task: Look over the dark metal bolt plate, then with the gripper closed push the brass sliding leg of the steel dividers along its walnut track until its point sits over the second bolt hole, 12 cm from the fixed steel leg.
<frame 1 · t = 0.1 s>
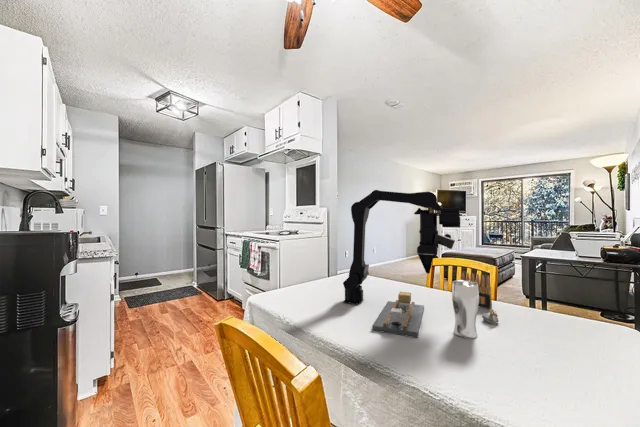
hand: (428, 270, 101), 15 cm above the table, tool pointing down, fingers open, 9 cm apart
bolt plate: (400, 319, 94), on the table
figurine: (490, 323, 91), on the table
beer glass: (465, 334, 82), on the table
ammunition clip: (475, 305, 108), on the table
sliding leg: (404, 297, 104), point 4 cm above the table, slide at 0.0 cm
fixed leg: (396, 328, 87), resting on bolt plate
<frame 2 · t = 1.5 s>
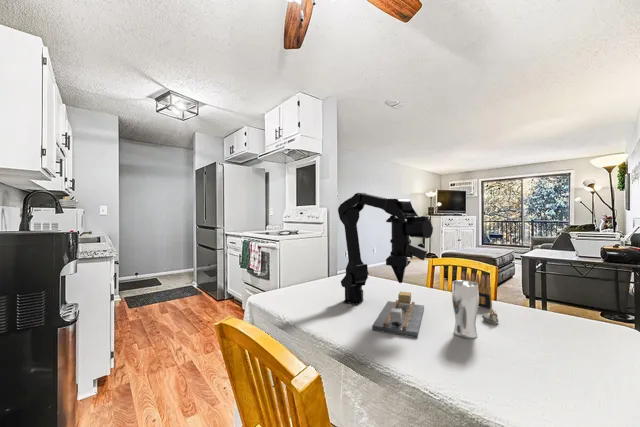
hand: (400, 282, 95), 12 cm above the table, tool pointing down, fingers closed
nothing on the table moved.
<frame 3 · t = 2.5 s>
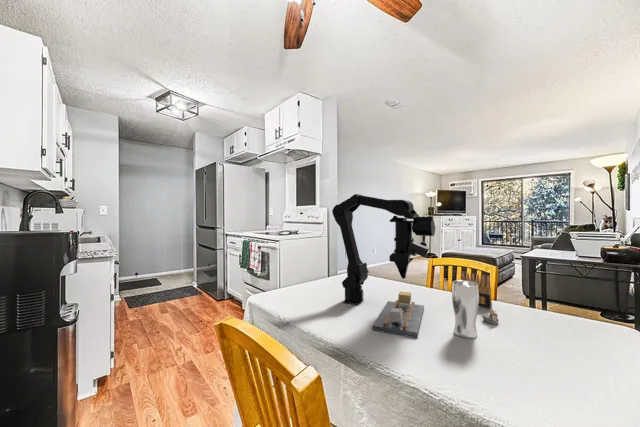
hand: (403, 278, 101), 12 cm above the table, tool pointing down, fingers closed
nothing on the table moved.
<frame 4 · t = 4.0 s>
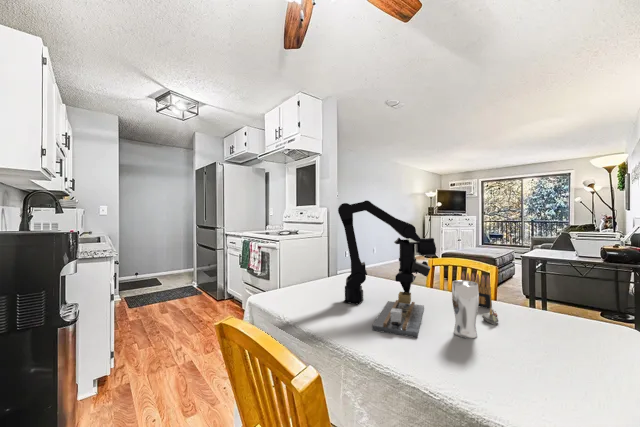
hand: (407, 295, 111), 3 cm above the table, tool pointing down, fingers closed
nothing on the table moved.
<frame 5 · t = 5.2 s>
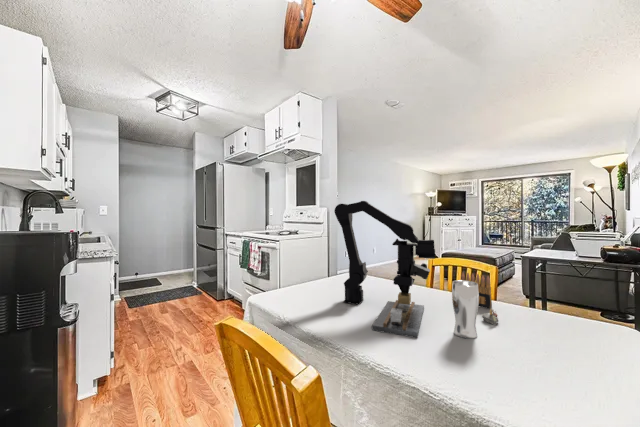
hand: (405, 298, 106), 3 cm above the table, tool pointing down, fingers closed
sliding leg: (404, 298, 103), point 4 cm above the table, slide at 0.9 cm, touching gripper
everything else where it was.
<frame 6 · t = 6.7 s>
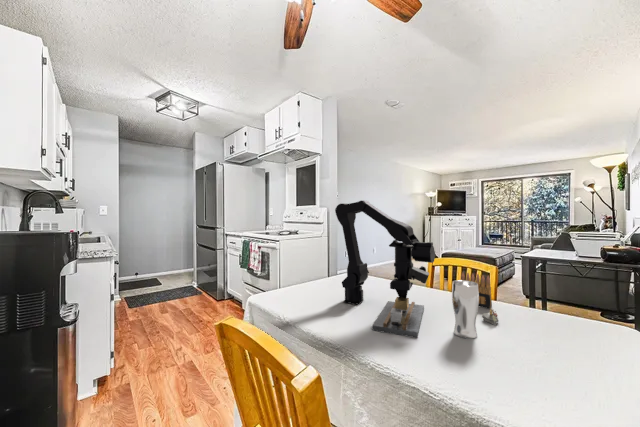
hand: (403, 303, 101), 3 cm above the table, tool pointing down, fingers closed
sliding leg: (402, 303, 97), point 4 cm above the table, slide at 7.1 cm, touching gripper
everything else where it was.
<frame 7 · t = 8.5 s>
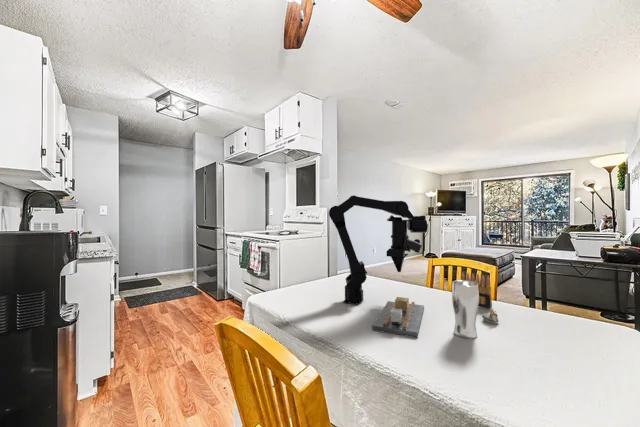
hand: (399, 271, 112), 12 cm above the table, tool pointing down, fingers closed
sliding leg: (402, 303, 97), point 4 cm above the table, slide at 7.1 cm
everything else where it was.
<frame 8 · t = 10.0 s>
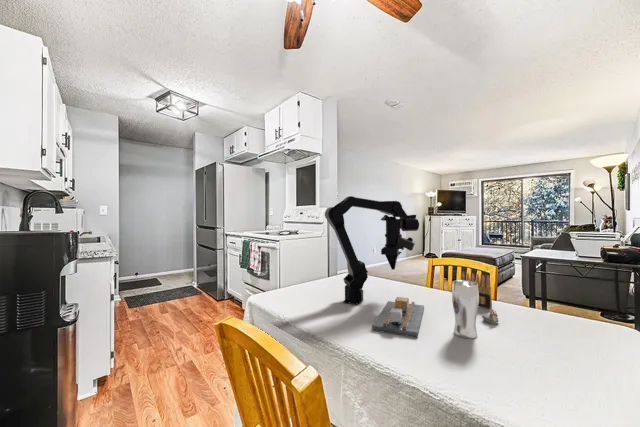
hand: (393, 269, 116), 12 cm above the table, tool pointing down, fingers closed
nothing on the table moved.
at the end: sliding leg slide at 7.1 cm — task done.
